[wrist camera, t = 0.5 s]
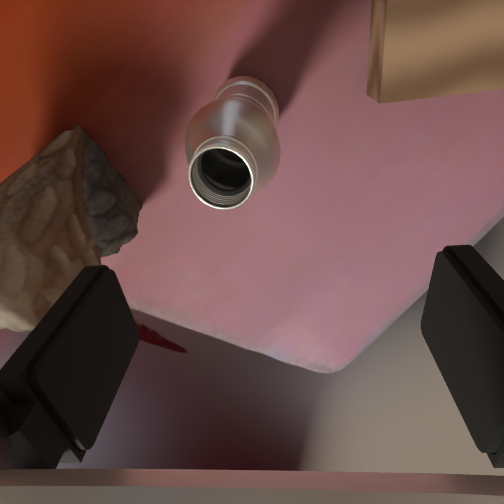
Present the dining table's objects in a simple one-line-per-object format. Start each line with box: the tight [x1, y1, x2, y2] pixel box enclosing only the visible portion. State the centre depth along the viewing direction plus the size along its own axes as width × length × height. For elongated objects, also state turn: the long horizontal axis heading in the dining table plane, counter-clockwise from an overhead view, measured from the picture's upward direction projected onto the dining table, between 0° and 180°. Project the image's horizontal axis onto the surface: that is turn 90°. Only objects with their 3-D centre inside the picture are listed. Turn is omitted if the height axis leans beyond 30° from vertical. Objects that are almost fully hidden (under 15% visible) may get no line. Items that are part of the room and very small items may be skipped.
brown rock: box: [0, 125, 142, 332], centre depth 33 cm, size 13×13×20 cm
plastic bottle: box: [185, 76, 280, 210], centre depth 26 cm, size 6×7×20 cm
